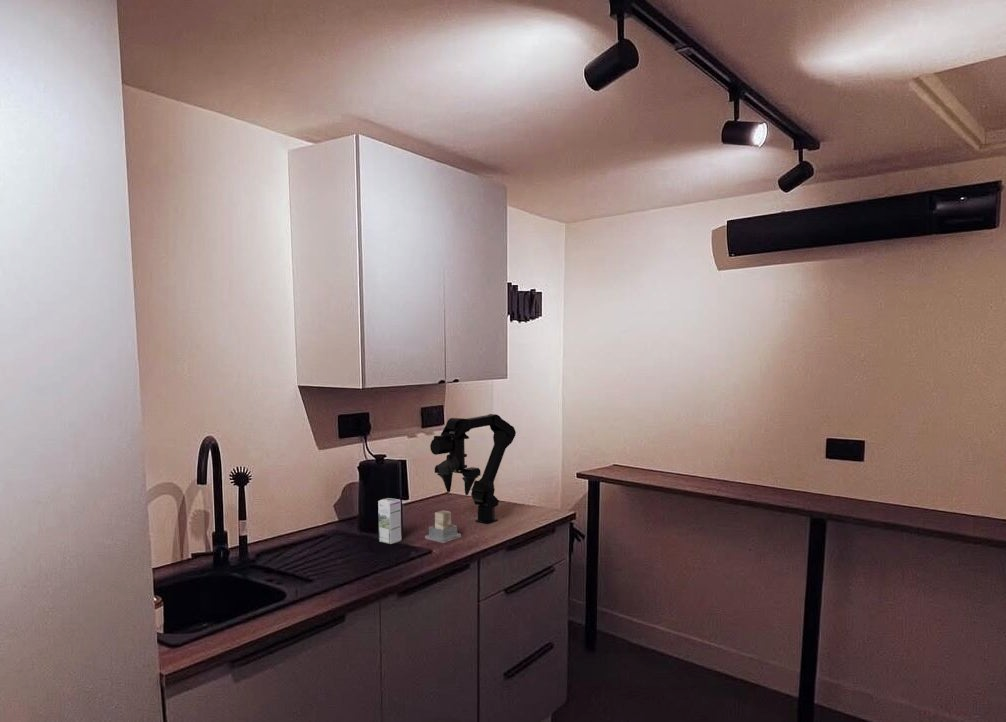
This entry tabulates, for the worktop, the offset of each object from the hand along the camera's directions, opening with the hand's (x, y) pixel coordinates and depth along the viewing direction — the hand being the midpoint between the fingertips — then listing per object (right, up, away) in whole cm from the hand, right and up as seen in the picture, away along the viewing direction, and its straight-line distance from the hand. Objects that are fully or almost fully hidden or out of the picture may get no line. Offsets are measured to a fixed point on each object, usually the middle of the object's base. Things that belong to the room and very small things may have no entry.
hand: (457, 493), depth 227 cm
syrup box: (-22, -14, -15) cm, 30 cm away
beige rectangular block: (-4, -12, -12) cm, 17 cm away
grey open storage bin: (-4, -13, -12) cm, 18 cm away
